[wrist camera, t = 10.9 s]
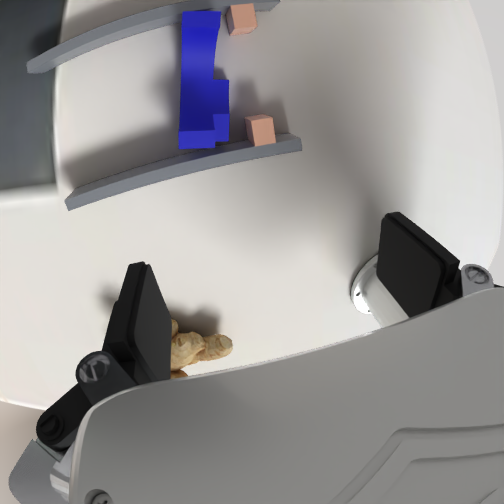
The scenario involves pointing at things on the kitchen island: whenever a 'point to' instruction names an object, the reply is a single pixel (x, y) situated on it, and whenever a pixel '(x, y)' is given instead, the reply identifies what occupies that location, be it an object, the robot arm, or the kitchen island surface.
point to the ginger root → (195, 349)
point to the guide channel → (257, 146)
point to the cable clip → (201, 84)
